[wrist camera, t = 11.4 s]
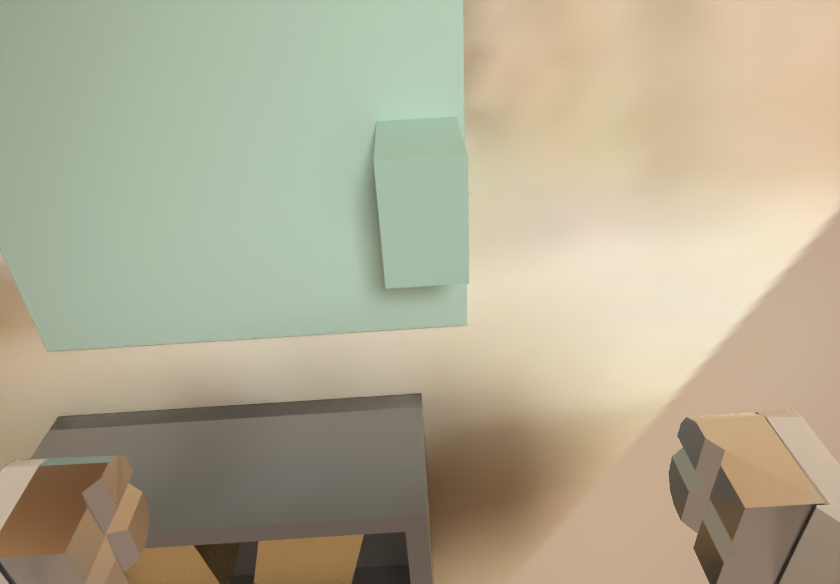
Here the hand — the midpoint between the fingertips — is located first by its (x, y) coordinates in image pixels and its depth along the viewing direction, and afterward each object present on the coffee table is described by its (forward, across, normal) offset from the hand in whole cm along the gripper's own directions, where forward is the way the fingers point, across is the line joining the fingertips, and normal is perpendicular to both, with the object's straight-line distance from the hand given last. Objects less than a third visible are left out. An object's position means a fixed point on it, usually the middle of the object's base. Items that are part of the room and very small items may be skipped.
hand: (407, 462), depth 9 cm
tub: (+12, +7, +16) cm, 22 cm away
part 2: (+12, +5, +16) cm, 20 cm away
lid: (+14, +6, +1) cm, 15 cm away
